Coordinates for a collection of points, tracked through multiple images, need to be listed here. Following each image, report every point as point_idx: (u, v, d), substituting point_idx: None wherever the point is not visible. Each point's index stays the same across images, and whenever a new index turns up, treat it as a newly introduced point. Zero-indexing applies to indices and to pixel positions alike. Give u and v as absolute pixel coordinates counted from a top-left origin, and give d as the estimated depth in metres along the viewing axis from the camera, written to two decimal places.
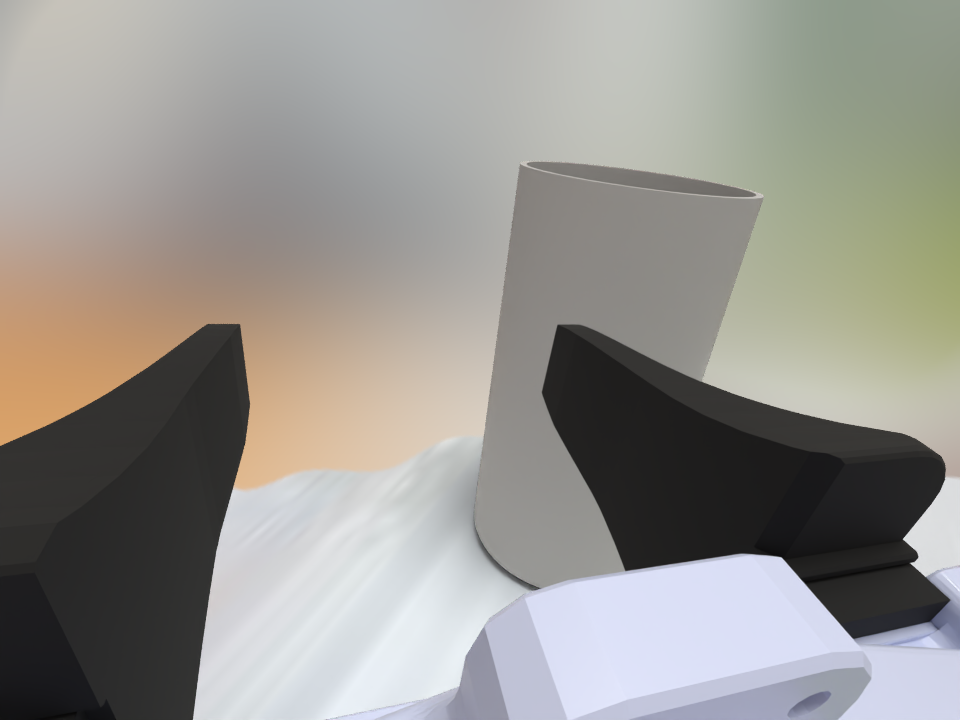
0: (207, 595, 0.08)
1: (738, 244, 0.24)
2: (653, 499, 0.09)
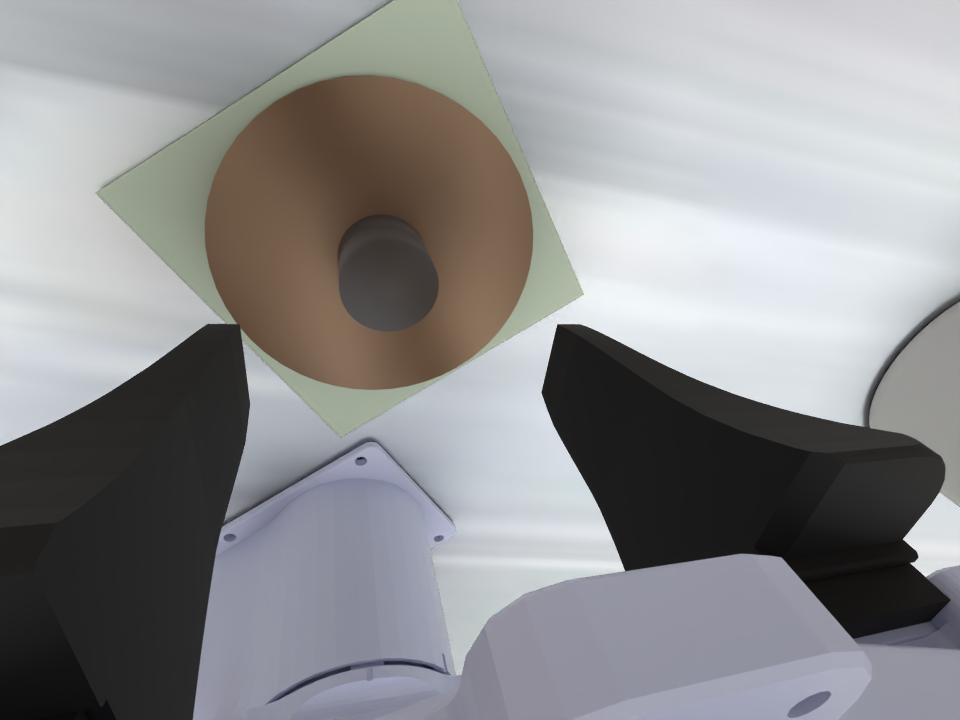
0: (207, 595, 0.08)
1: None
2: (653, 499, 0.09)
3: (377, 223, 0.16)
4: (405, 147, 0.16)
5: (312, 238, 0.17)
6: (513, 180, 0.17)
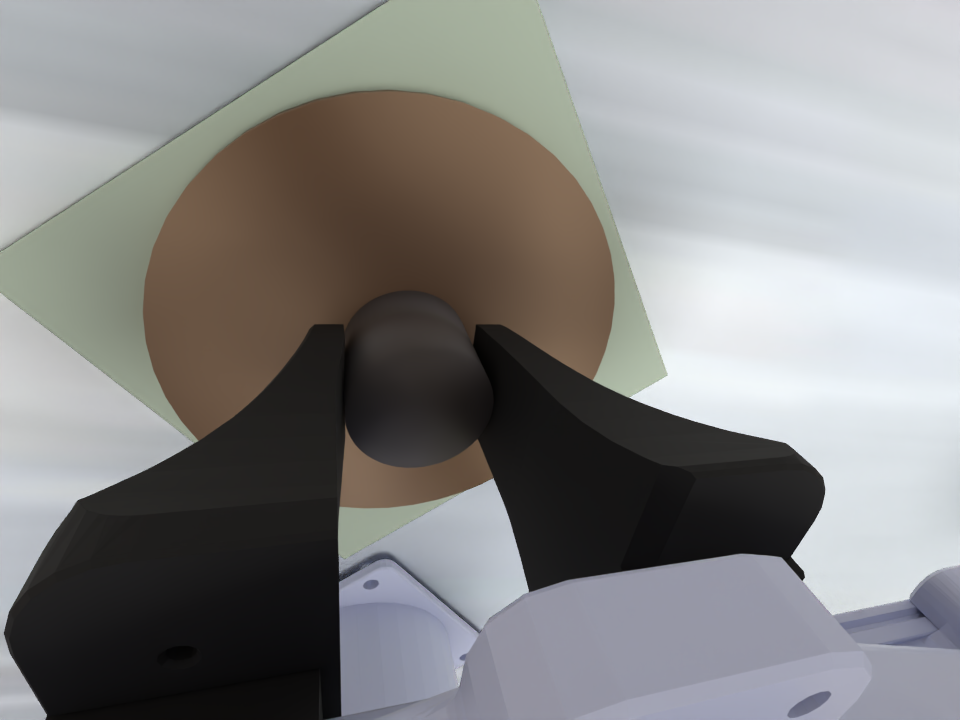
0: None
1: None
2: (547, 511, 0.08)
3: (401, 309, 0.11)
4: (441, 196, 0.11)
5: (305, 326, 0.11)
6: (594, 238, 0.12)
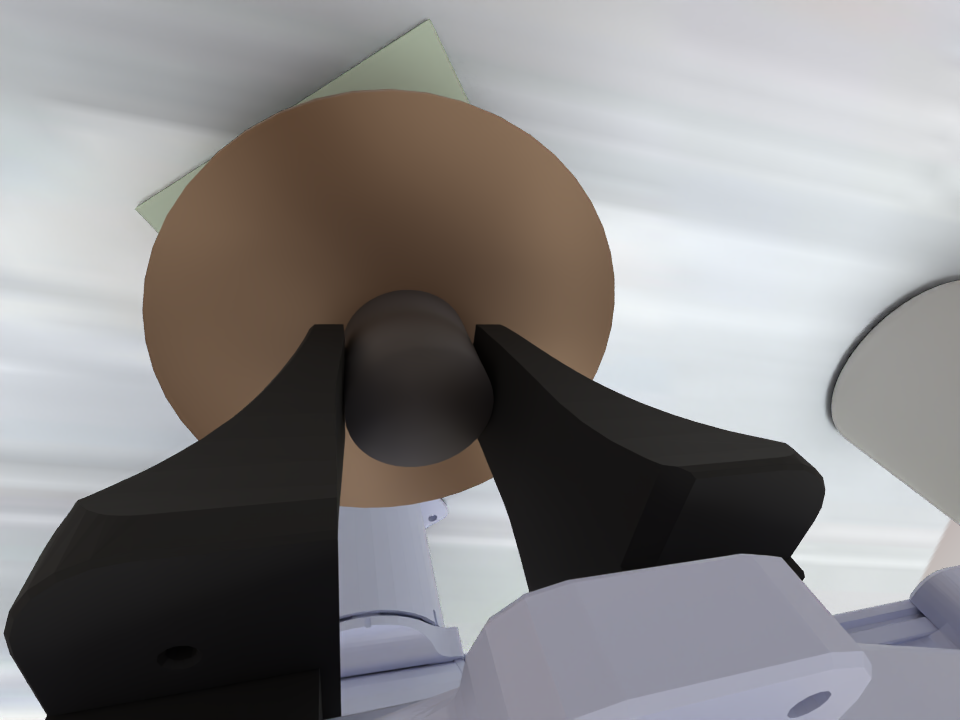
0: None
1: None
2: (546, 511, 0.08)
3: (401, 308, 0.11)
4: (442, 195, 0.11)
5: (305, 325, 0.11)
6: (594, 237, 0.12)
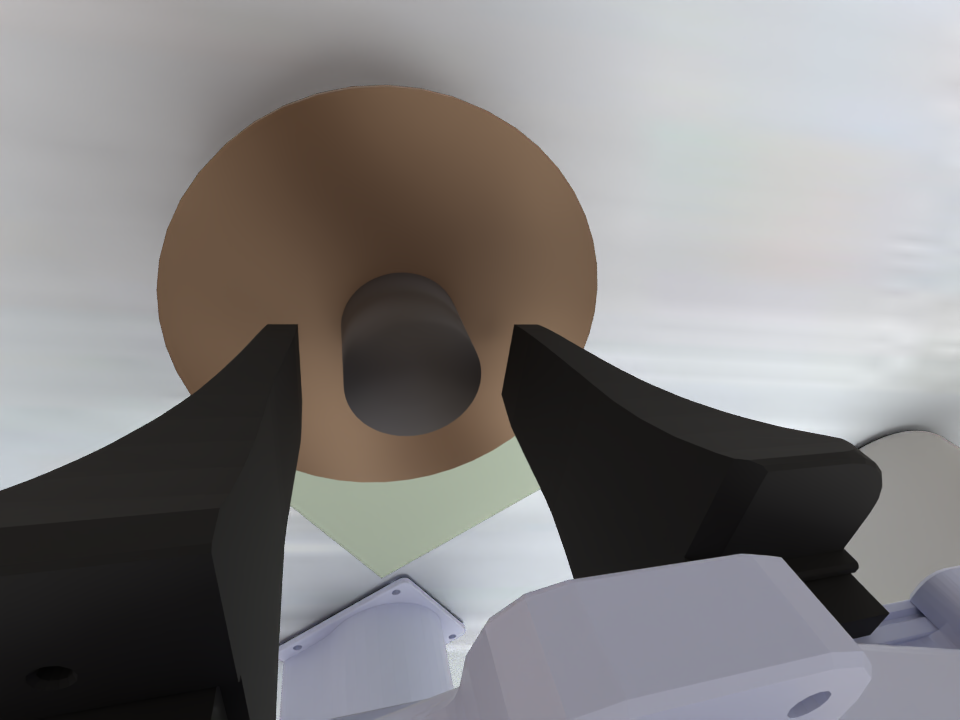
0: (281, 585, 0.08)
1: None
2: (597, 505, 0.09)
3: (396, 289, 0.12)
4: (434, 184, 0.11)
5: (307, 305, 0.12)
6: (577, 225, 0.13)
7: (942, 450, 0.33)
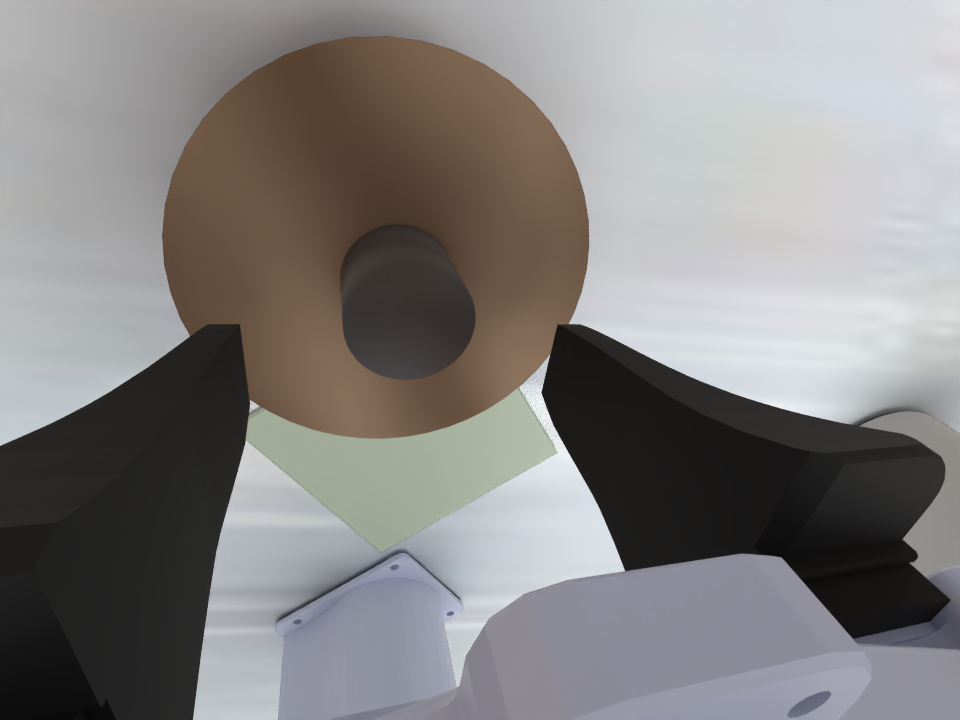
0: (207, 595, 0.08)
1: None
2: (653, 499, 0.09)
3: (394, 237, 0.12)
4: (430, 135, 0.12)
5: (307, 255, 0.13)
6: (569, 180, 0.13)
7: (934, 430, 0.34)
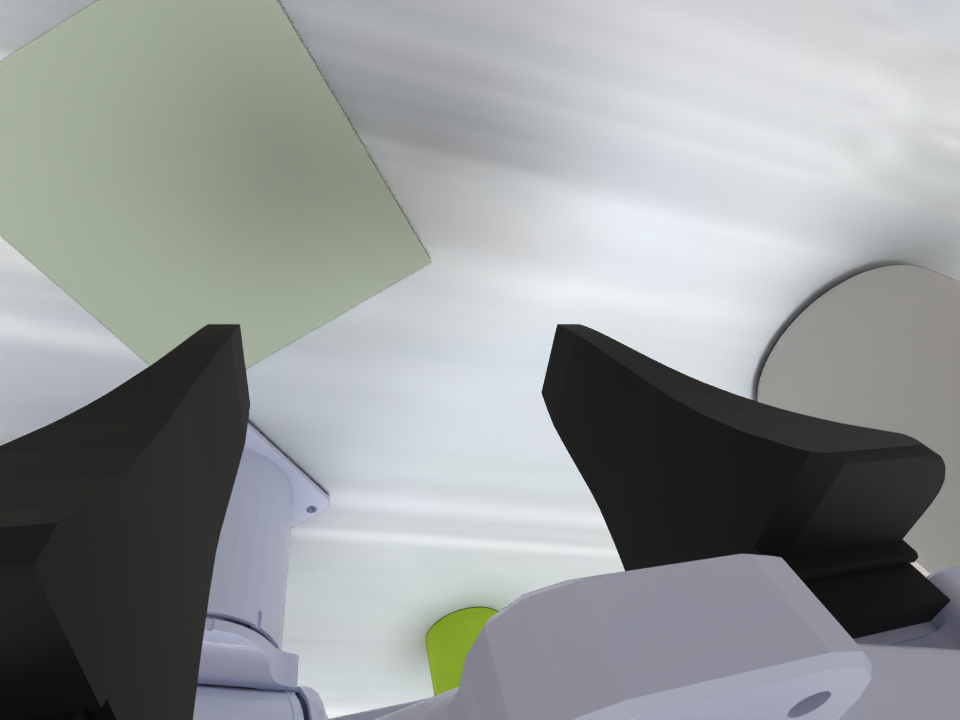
0: (207, 595, 0.08)
1: None
2: (653, 499, 0.09)
3: None
4: None
5: None
6: None
7: (938, 278, 0.26)
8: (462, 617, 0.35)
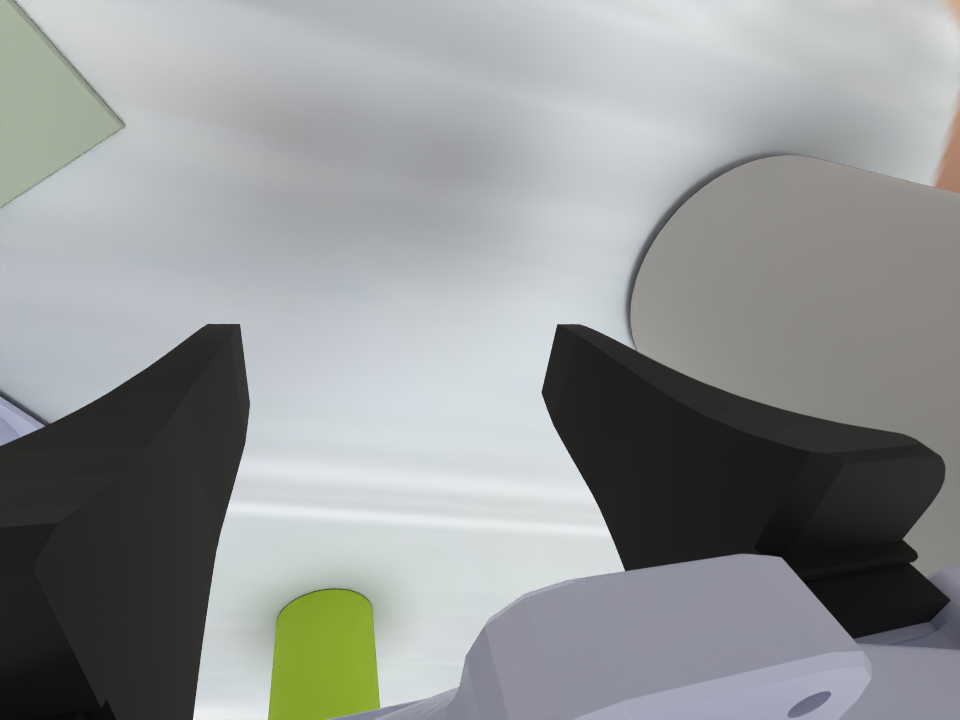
0: (207, 595, 0.08)
1: None
2: (653, 499, 0.09)
3: None
4: None
5: None
6: None
7: (827, 163, 0.21)
8: (311, 600, 0.30)
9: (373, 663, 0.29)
